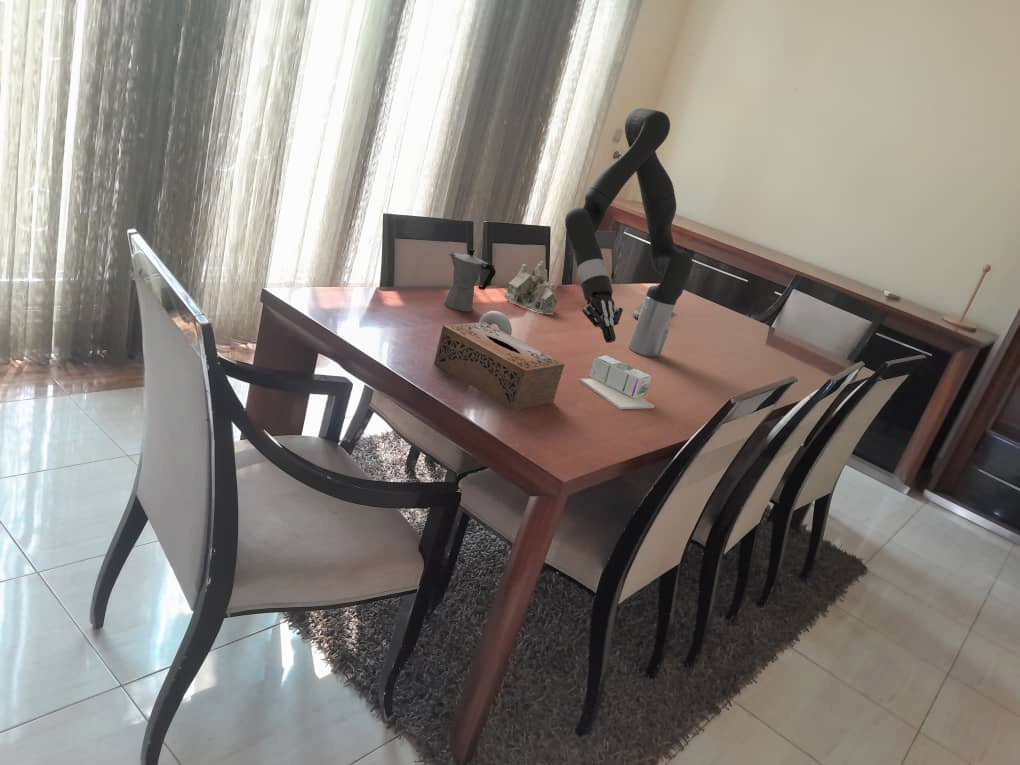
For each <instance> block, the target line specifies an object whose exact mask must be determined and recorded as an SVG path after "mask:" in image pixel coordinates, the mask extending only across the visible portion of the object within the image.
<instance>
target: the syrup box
mask: <svg viewBox="0 0 1020 765" xmlns="http://www.w3.org/2000/svg"><path fill="white" fill-rule="evenodd" d="M589 378H591V379H596V380H598V381H600V382H602V383H604V384H606V385H608V386H610V387H612V388H614V389H616V390H618V391H620V392H622V393H624V394H626V395H628V396H630V397H632V398H638V397H644V396H646V394H647V392H648V389H649V388H650V387H649V386H650V383H651V380H652V376H651V375H650V374H647V373H645V372H644V371H641V370H639V369H637V368H634V367H633V366H631V365H629V364H626V363H624V362H622V361H620V360H618V359H616V358H613V357H612V356H609V355H607V354H603V355H600V356H599V355H598V356H596V357H594V359H593V362H592V365H591V368H590V372H589Z"/></svg>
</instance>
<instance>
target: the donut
mask: <svg viewBox="0 0 1020 765" xmlns="http://www.w3.org/2000/svg"><path fill="white" fill-rule="evenodd" d="M478 322H485V323H487V324H489V325H491V326H493V324H494V325H496V326H497V329H499V330H501V331H502V332H504V333H506V334H508V335H510V336H512V331H513V330H512V324H511V322H510V320H509V318H508V317H507V316H506V315H505V314H504V313H502V312H501V311H497V310H490V311H488V312H485V313H484V314H482V316H481V317H480V318H479V320H478Z"/></svg>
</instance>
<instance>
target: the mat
mask: <svg viewBox="0 0 1020 765" xmlns="http://www.w3.org/2000/svg"><path fill="white" fill-rule="evenodd" d="M579 382H581V383H582V384H583V385H584V386H586V387H587V388H589V389H590V390H592V391H593V392H594V393H596V394H597V395H599V396H601V397H602V398H603V399H605V400H606V402H609V403H610V404H612V405H613V406H615V407H616V408H617V409H619V410H636V409H637V410H638V409H655V405H654V404H652V403H651V402H649V401H647V400H646V399H645V398H643V396H641V397H638V398H632V397H630V396H628V395H626V394H624V393H622V392H620V391H618V390H616V389H614V388H612V387H610V386H608V385H606V384H604V383H602V382H600V381H598V380H596V379H594V378H579Z"/></svg>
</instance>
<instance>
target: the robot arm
mask: <svg viewBox="0 0 1020 765" xmlns="http://www.w3.org/2000/svg"><path fill="white" fill-rule="evenodd" d="M670 122H671V121H670V118H669V116H668V114H666V113H664V112H662V110H661V111H660V110H655V109H651V108H650V109H649V108H640V107H639V108H633V109H632V110H631V111H629V112H628V114H627V116H626V118H625V122H624V133H625V134H624V135H625V138H626V142H627V146H628V149H627V151H626V152H624V154H622V155H621V156H619V158H618V159H615V161H613V162H612V163H610V165H608V166H607V167H606V168H605V169H604V170H603V171H602V172H601V173H600V174H599V175H598V176H597V178H596V179H595V180H594V181H593V183H592V184H591V186H590V188H588V191H587V192H586V194H585V196H584V197H585V198H584V201H585V202H584V205H583V207H574V208H572V209H570V210H568V212H567V214H566V215H565V219H564V225H565V229H566V232H567V235H568V236H567V237H568V238H569V240H570V243H571V246H572V249H573V253H574V258H575V262H576V265H577V270H578V271H577V272H578V278H579V281H580V285H581V289H582V293H583V296H584V300H585V301H586V306H585V307H584V308H583V309H582V310H581V312H582V313H583V314H584V316H585V317H586V318H587V319H588V320H589V321H590V323H591V324H592V325H593V326H594V328H597V327H598V328H599V329H600V330H601V332H602V335H603V339H604V341H605V343H606V344H611V343H613V342H615V341H616V338H617V336H616V333H615V329H614V327H615V326H618V324H619V323H620V321H621V316H622V314H623V312H624V311H623V310H624V309H623V308H622V307H621V306H620V307H618V306H616V305H615V301H614V300H613V298H612V296H613V293H614V292H613V291H614V290H613V286H612V284H611V280H610V275H609V273H608V269H607V265H606V264H605V260H604V258H603V253H602V249H601V247H600V245H599V243H598V241H597V239H596V235H595V234H596V233H597V232H598V230H599V227H600V225H601V223H602V221H603V219H604V217H605V214H606V212H607V211H608V209H609V207H610V206H611V204H612V203H613V202H614V200H615V199H616V197H617V196H618V194H619V193H620V192H621V190H622V189H623V187H624V186H625V185H626V183H628V181H629V180H630V179H631V177H632V176H633V175H634V174H635V173H636V176H637V181H638V186H639V190H640V196H641V201H642V206H643V207H642V208H643V210H644V211H643V212H644V215H645V219H646V225H647V230H648V235H649V242H650V252H651V253H650V255H651V263H652V267H653V269H654V270H655V272H656V273H657V274H659V275H660V276H661V277H662V278H661V281H660V283H659V284H658V285H651V286H649V287H648V289H647V291H646V295H645V298H644V300H643V304H642V305H643V306H642V309H641V312H640V315H639V318H638V319H637V321H636V323H635V324H636V325H635V328H634V330H633V333H632V337H631V339H630V341H629V342H630V343H629V345H628V348H629V350H631V351H632V352H634V353H636V354H639V355H642V356H645V357H650V358H656V357H659V358H660V357H661V354H662V351H663V348H664V346H665V343H666V340H667V337H668V335H669V332H670V328H669V323H670V321H671V317H672V315H673V312H674V310H675V307H676V304H677V301H678V299H679V298H680V297H681V296H682V294H683V292H684V289H685V287H686V285H687V282H688V280H689V277H690V274H691V272H692V270H693V269H692V268H693V258H692V256H691V254H689V253H688V252H687V251H685V250H682V249H680V248H678V247H676V245H675V242H674V238H673V234H672V224H673V222H674V219H675V216H676V212H677V199H676V193H675V188H674V185H673V182H672V179H671V178H670V175H669V174H668V172H667V170H666V169H665V167H664V166H663V165H662V163H661V161H660V160H659V157H658V155H657V152H656V151H657V150H658V148H660V146H662V144H663V143H664V142H665V140H666V139H667V138H668V136H669V133H670V130H671V123H670Z"/></svg>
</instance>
